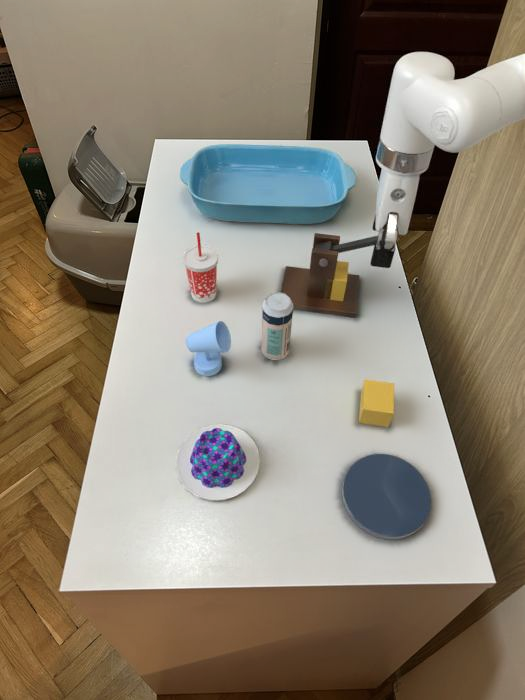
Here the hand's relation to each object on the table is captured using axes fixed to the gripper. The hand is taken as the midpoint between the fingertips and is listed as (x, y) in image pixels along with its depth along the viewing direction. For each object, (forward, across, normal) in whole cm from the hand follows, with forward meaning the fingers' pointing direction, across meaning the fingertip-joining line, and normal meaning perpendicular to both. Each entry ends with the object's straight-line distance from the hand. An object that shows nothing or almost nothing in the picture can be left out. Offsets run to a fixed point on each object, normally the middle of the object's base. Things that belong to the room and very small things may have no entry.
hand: (380, 247), depth 88 cm
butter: (+11, 0, +6) cm, 13 cm away
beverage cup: (+13, -4, +30) cm, 33 cm away
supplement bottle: (+13, -15, +15) cm, 25 cm away
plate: (+12, -38, -4) cm, 40 cm away
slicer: (+12, 0, +9) cm, 15 cm away
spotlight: (+13, -20, +25) cm, 34 cm away
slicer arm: (+2, 0, +4) cm, 5 cm away
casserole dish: (+13, +26, +23) cm, 37 cm away
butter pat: (+12, -24, -2) cm, 27 cm away
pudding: (+13, -37, +20) cm, 44 cm away
